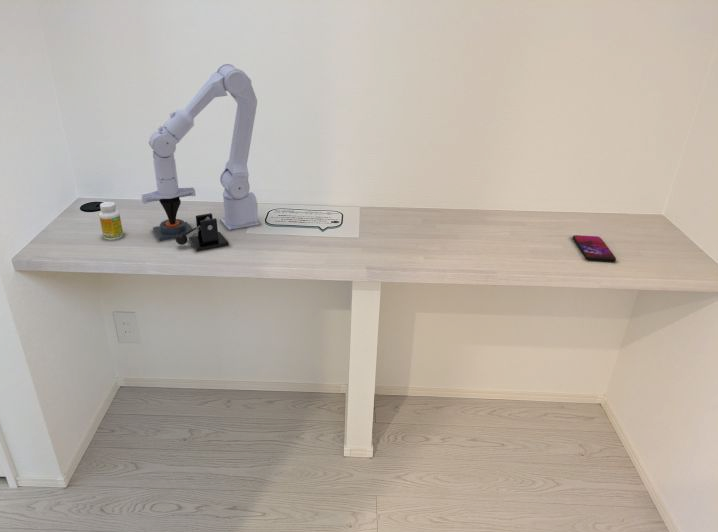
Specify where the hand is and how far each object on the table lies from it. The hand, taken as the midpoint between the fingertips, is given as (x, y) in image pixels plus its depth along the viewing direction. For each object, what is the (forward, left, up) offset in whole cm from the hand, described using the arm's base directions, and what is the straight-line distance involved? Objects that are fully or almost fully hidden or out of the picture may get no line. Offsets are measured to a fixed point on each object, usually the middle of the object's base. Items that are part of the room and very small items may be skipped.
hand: (172, 222), depth 164 cm
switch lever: (-4, +11, 0) cm, 12 cm away
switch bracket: (-7, +11, -3) cm, 13 cm away
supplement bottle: (+16, -5, -3) cm, 17 cm away
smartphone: (-102, +60, -3) cm, 118 cm away
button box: (0, 0, -3) cm, 3 cm away
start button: (0, 0, -2) cm, 2 cm away
